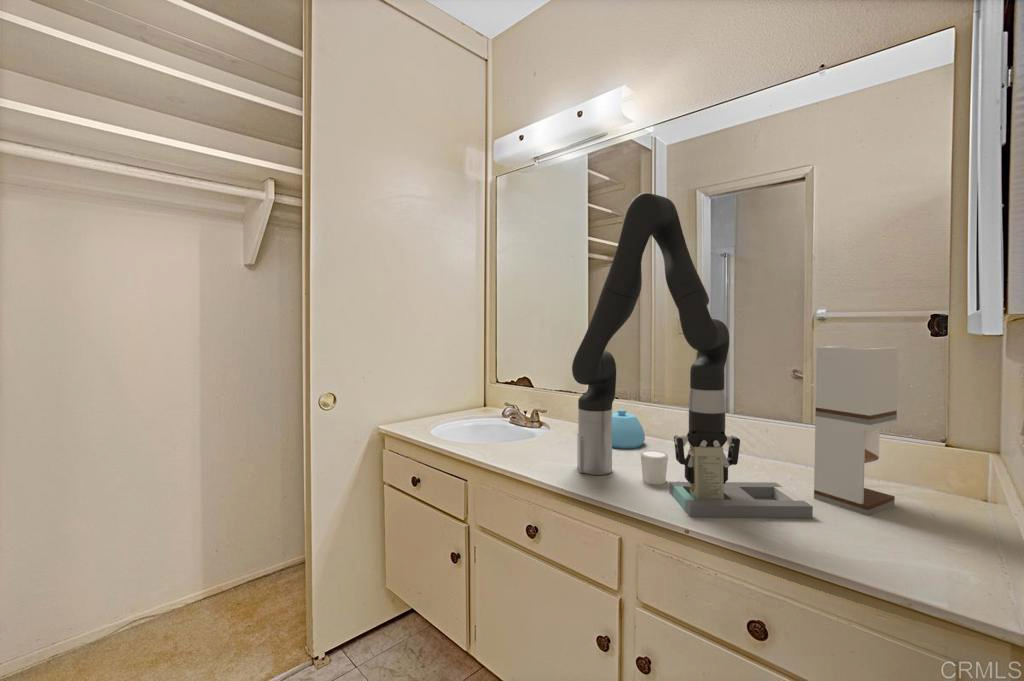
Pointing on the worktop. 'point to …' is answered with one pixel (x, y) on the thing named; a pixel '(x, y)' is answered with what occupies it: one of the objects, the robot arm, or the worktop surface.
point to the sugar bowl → (626, 430)
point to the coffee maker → (852, 422)
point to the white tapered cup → (654, 466)
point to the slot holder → (744, 501)
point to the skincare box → (707, 473)
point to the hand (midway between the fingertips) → (706, 482)
